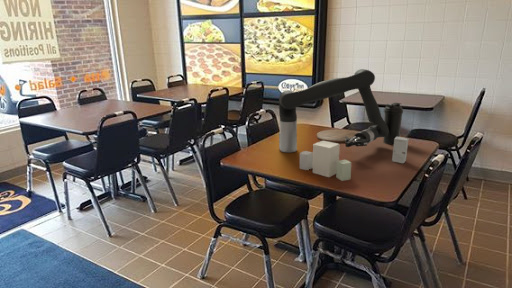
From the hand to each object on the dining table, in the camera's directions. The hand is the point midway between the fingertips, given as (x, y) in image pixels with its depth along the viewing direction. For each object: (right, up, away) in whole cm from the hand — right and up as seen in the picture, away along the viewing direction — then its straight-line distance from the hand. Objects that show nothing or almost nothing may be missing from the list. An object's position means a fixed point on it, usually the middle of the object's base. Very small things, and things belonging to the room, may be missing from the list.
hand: (347, 145), depth 183 cm
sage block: (-6, -15, -17) cm, 24 cm away
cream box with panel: (-13, -13, -10) cm, 21 cm away
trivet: (+5, +4, +46) cm, 47 cm away
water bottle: (+34, +1, +32) cm, 47 cm away
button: (-11, -6, -10) cm, 16 cm away
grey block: (-21, -11, -4) cm, 24 cm away
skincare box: (+26, -8, +1) cm, 28 cm away
